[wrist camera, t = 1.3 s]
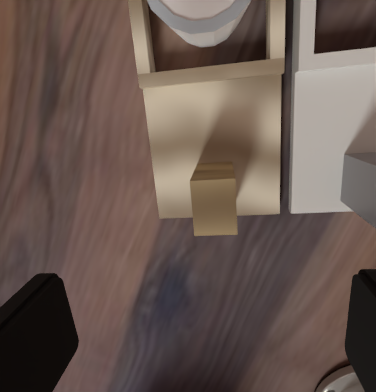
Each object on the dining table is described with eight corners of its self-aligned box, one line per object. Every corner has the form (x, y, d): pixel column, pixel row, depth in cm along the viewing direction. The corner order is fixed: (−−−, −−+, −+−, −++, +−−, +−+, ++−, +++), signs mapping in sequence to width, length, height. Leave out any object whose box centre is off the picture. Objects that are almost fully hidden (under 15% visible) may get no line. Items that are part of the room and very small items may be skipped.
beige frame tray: (277, 210, 25) (297, 246, 18) (161, 214, 27) (141, 249, 20) (280, -100, 18) (314, -216, 12) (126, -70, 20) (78, -158, 13)
